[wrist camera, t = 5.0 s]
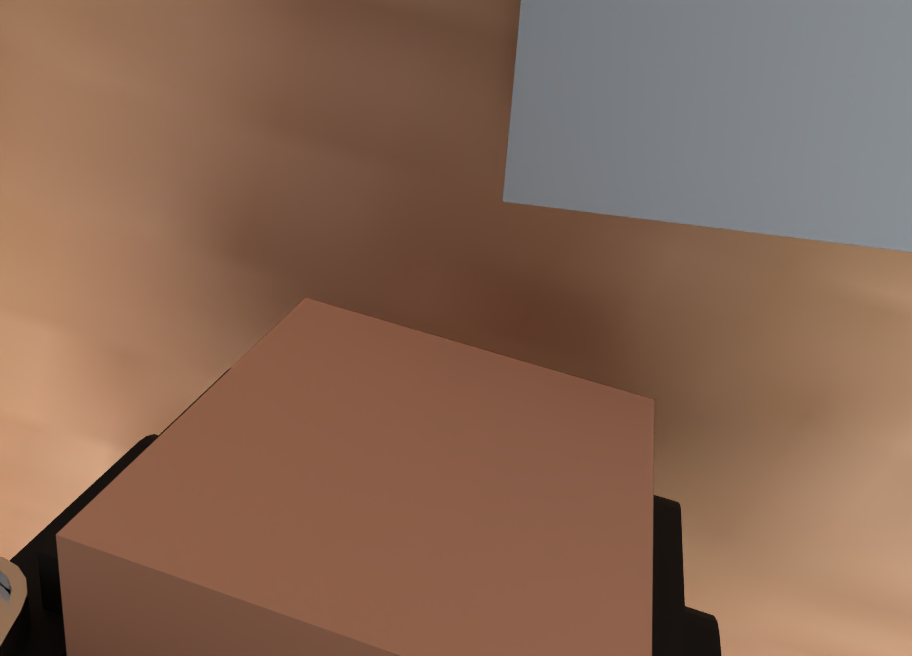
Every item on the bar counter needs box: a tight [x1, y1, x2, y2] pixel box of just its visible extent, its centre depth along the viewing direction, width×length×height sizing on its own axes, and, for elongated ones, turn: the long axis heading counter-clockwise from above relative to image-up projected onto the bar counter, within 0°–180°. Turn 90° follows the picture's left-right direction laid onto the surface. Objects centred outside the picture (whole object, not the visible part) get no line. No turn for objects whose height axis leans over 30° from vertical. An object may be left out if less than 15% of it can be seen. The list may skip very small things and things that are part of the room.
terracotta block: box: [56, 298, 654, 656], centre depth 9 cm, size 5×5×5 cm
